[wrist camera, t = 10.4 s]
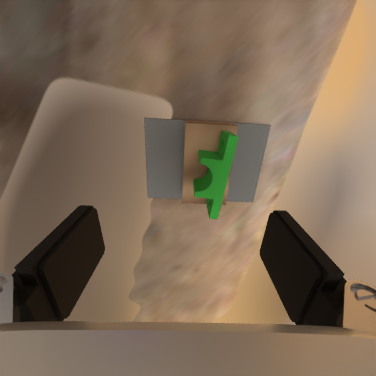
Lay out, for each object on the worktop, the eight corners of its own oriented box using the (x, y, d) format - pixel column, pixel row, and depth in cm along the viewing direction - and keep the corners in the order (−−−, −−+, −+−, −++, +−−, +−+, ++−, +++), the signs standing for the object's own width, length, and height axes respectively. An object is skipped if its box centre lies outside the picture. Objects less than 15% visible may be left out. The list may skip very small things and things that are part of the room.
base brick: (185, 120, 28) (185, 122, 24) (229, 122, 28) (238, 125, 24) (182, 189, 33) (182, 202, 29) (220, 191, 33) (225, 204, 29)
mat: (144, 117, 28) (144, 117, 28) (269, 124, 29) (270, 124, 29) (148, 196, 34) (147, 197, 34) (252, 201, 35) (252, 202, 34)
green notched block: (202, 127, 24) (206, 131, 20) (229, 131, 24) (239, 136, 20) (189, 200, 29) (190, 216, 24) (213, 203, 29) (217, 220, 25)
